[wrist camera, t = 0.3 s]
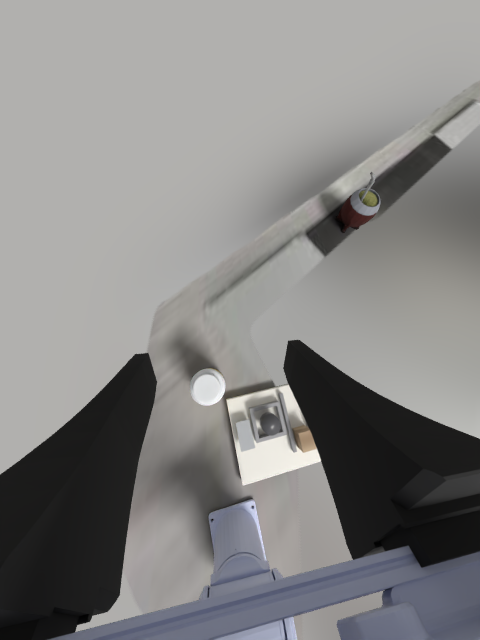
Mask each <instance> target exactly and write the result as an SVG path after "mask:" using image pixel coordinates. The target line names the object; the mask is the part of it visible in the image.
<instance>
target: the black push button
mask: <svg viewBox="0 0 480 640" xmlns="http://www.w3.org/2000/svg"><path fill="white" fill-rule="evenodd" d="M260 426H261V428H262V429H263V431H264V432H265V433H266V434H267V435H270V436H273V435H276V434H277V433H278V432H279V431H280V428H281V423H280V420H279V419H278V417H277V416H275V415H274V414H273V413H271V412H266V413H264V414H263V415H262V416H261V418H260Z"/></svg>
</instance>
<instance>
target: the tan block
mask: <svg viewBox="0 0 480 640" xmlns="http://www.w3.org/2000/svg"><path fill="white" fill-rule="evenodd" d="M292 429H293V433H294V437H295V441H296V445H297V447H298V448H299V449H300V450H301V451H302V452H303V453H305V452H308V451H311V450H315V449H317V448H316V445H315V442H314V439H313V437H312V434H311V432H310V429H309V428H308V427H307V426H305V425H303V426H299V427H296V428H292Z"/></svg>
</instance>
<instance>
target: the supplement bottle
mask: <svg viewBox="0 0 480 640" xmlns="http://www.w3.org/2000/svg"><path fill="white" fill-rule="evenodd" d="M224 392H225V380H224V377H223V375H222V374H221V373H220V372H219V371H218V370H216V369H213V368H207V369H202V370H200V371H198V372H197V373H196V374H195V375H194V376H193V378H192V380H191V382H190V393H191V396H192V398H193V399H194V400H195V401H196V402H197V403H199V404H201V405H205V406H208V405H213V404H215V403H217V402H218V401H219V400H220V399H221V398H222V396H223V394H224Z"/></svg>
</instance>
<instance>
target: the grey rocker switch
mask: <svg viewBox="0 0 480 640" xmlns="http://www.w3.org/2000/svg"><path fill="white" fill-rule="evenodd" d="M235 423H236V428H237V433H238V438H239V443H240V448H241V452H243V451H247V450H250V449H254V448H255V444H254V439H253V435H252V430H251V426H250V422H249V419H247V420H243V421H239V422H235Z"/></svg>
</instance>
